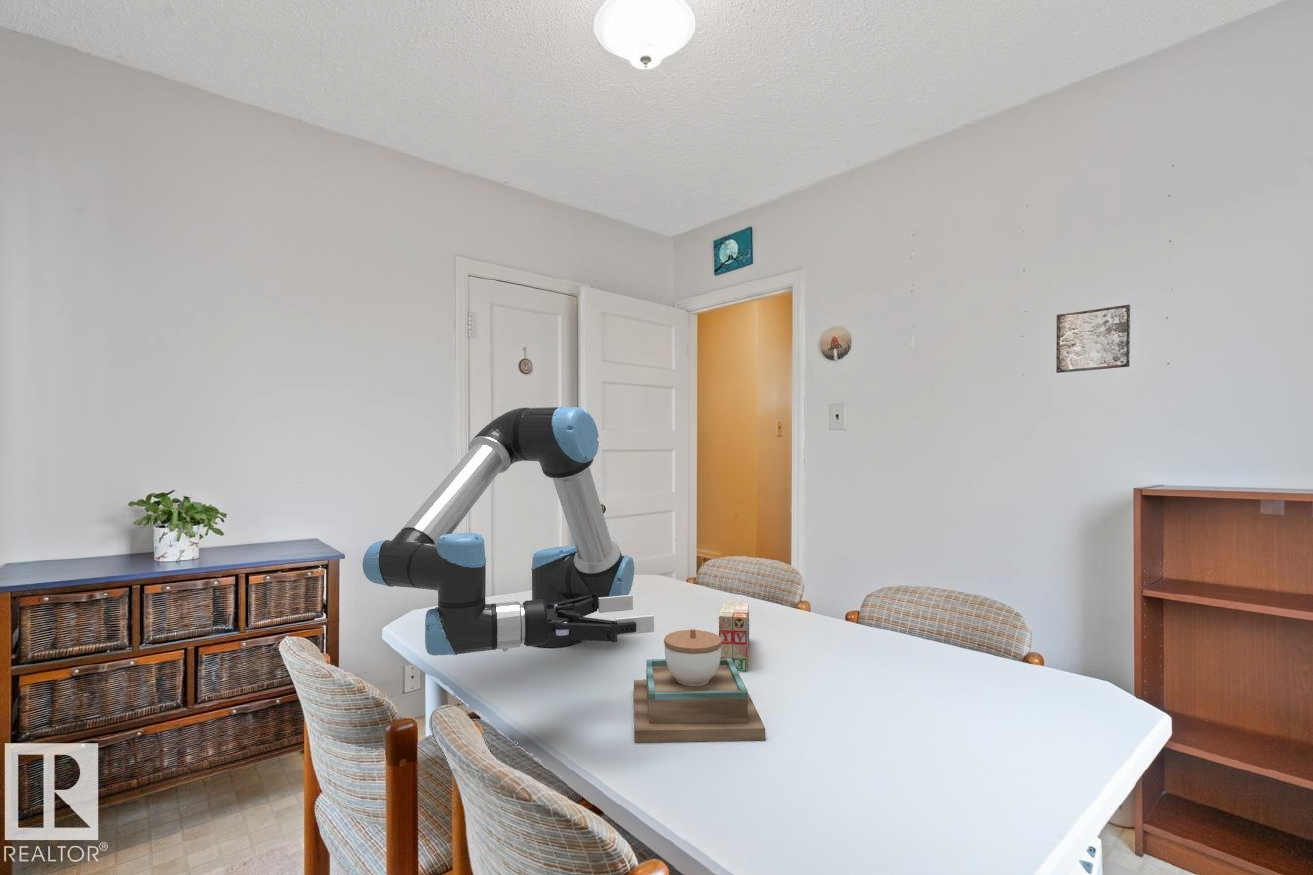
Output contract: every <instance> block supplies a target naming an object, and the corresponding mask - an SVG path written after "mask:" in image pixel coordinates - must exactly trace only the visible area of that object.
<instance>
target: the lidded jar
mask: <svg viewBox="0 0 1313 875" xmlns="http://www.w3.org/2000/svg"><path fill="white" fill-rule="evenodd" d="M663 643H664V659H666V664H667V667H668V669H669V671H670V673H671V674H672V675H673V677H674V678H676V680H677V682H678V683H680V684H682V685H685V686H702V685H705V684H707V683H708V682H709V680H710V679H711V678H712V677H713V676H714V675H715V674H716V672H717V670H718V667H719V664H720V659H721V646H722V639H721V638H720V636H719V634H716V633H714V632H711V631H707V630H701V629H700V630H699V629H698V630H697V629H695V628H689V629H684V630H677V631H676V630H675V631H674V632H669V633H668V634H666V635H665V636H664V638H663Z"/></svg>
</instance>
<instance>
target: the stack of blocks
mask: <svg viewBox="0 0 1313 875" xmlns="http://www.w3.org/2000/svg"><path fill="white" fill-rule="evenodd" d="M749 606H750V605H749V604H748V602H743V601H742V602H740V601H739V602H737V601H736V602H735V601H722V604H721V608H720V611H719V614H718V636H720V638H721V639H722V646H721V659H722V658H731V659H732V661H733V663H734V665H735V667H736V669H737V671H738V672H742V673H747V671H748V665H749V649H750V608H749Z"/></svg>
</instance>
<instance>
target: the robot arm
mask: <svg viewBox="0 0 1313 875" xmlns="http://www.w3.org/2000/svg"><path fill="white" fill-rule="evenodd" d="M597 427H598V426H597V425H596V422H595V420H594V418H593V417H592V415H591V414H590V412H588V411H587V410H585V409H584V408H581V407H577V406H576V407H573V406H569V405H564V406H563V405H561V406H557V407H556V406H554V407H551V406H550V407H519V408H515V409H511V410H509V411H507V412H505V413H503V414H501V415H499V416H498V417H496V418H494V419H493V420H492V421H491V422H489V423H488V424H487V425H485V426H484V427H483V428H482V429H481V430H480V431H478V433H477V434H475V436H474V437H473V438H472V439H471V440H470V442H469V444H468V450H467V451H468V452H467V453H466V454H465V455H464V456H463V457H462V458H461V459H460V460H459V462H458V463H457V464H456V466H454V467H453V469H452V470H451V471H450V472H449V473H448V474H447V475H446V477H445V478H444V480H442V481H441V483H440V484H439V485H438V486H437V487H436V488H435V489H434V491H433V492H432V493H431V494H430V495H429V497H428V498H427V499H426V500H425V501H424V503H423V504H422V505H421V506H419V508H418V509H417V511H416V512H415V513H414V514H413V515H412V516H411V518H410V519H409V520H408V521H407V522H406V524H405V525H404V526H403V527H402V528H401V529H400V531H399V532H397V534H395V536H394V538H392V539H391V540H390V539H385V540H378V541H375V542H374V543H372V544H371V545H370V546H368V548H367V549H366V551H365V553H364V556H363V559H362V571H363V574H364V576H365V578H367V580H368V581H370V582H371V583H373V584H377V585H381V586H386V587H391V588H393V587H400V588H408V589H409V588H410V589H411V588H412V589H421V590H430V591H432V590H433V591H437V598H438V599H437V600H438V601H437V606H436V607H434V608H431V609H428V610H427V611H426V613H425V618H424V620H425V624H424V628H425V629H424V630H425V631H424V638H425V639H424V645H425V651H426V653H427V654H429V655H430V656H450V655H451V656H458V655H464V654H472V653H478V652H485V651H495V650H496V651H497V650H501V651H503V652H504V653H505V652H507V651H509V649H513V648H520V647H522V644H523V645H524V646H525V647H539V648H561V647H568V646H572V645H575V644H578V643H580V642H581V641H588V642H589V641H592V642H593V641H595V642H611V643H616V642H618V637H620V636H631V635H638V634H647V633H654V632H655V616H654V615H653V614H648V615H646V614H645V615H638V616H628V617H627V616H625V617H618V618H617V617H616V618H615V620H610V619H601V618H593V617H586V616H588V615H592V614H594V613H596V612H598V614H603V613H604V614H605V613H616V612H624V611H633V610H634V607H633V606H634V600H633V598H634V595H633V594H630V593H631V591H632V586H633V582H634V578H635V562H634V559H633V557H631V556H629V555H626V554H625V555H623V554H622V550H621V548H620V546H619V544H618V543H617V542H615V541H613V540H612V539H611V535H610V533H609V530H608V527H607V526H608V525H607V522H606V518H605V515H604V512H603V508H602V505H601V502H600V499H599V498H600V497H599V494H598V491H597V488H596V487H597V486H596V484H595V482H594V477H593V474H592V471H591V466H592V464H593V463H594V459H595V457H596V456H597V453H598V450H599V445H600V444H599V441H598V438H599V432H598V428H597ZM524 461H526V462H538V463H539V465H540V468H541V470H542V473H543V475H544V476H545V477H547V478H548V479H552V481H553V484H554V487H555V490H556V494H557V495H558V496H557V497H558V499H559V502H560V506H561V508H562V511H563V514H564V519H565V520H566V523H567V526H568V529H569V534H570V535H571V538H572V542H573V545H562V546H554V547H548V548H544V549H541V550H537V551H536V552H535V553H534V554H533V555H532V559H531V560H532V561H531V562H532V563H531V569H530V570H531V599H530V600H524V601H523V602H522V604H521V603H520V601H518V600H516V601H505V602H496V603H487V602H486V593H487V592H486V591H487V590H486V583H487V582H486V577H487V576H486V574H487V573H486V570H487V568H486V564H487V556H486V549H485V547H486V546H485V540H484V537H483V536H482V535H481V534H478V533H477V532H454V531H455V530H456V529H457V528H458V526H459V525H460V524H461V522H462V521H463V520H464V518H465V517H466V516H467V514H469V512H470V510H471V509H472V508H473V507H474V506H475V504H476V503H477V501H479V499H480V498H481V497H482V495H483V493H484V492H485V491H486V490H487V489H488V488H489V486H490V484H491V483H492V482H494V480H495V478H496V477H497V476H498V475H499V474H503V473H505V472H507V471H508V469H510V467H511V466H512V464H515V463H518V462H524ZM453 532H454V533H453Z"/></svg>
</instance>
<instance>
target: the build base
mask: <svg viewBox="0 0 1313 875" xmlns="http://www.w3.org/2000/svg"><path fill="white" fill-rule="evenodd" d="M645 665H646V670H645V672H646V676H645V677H646V679H634V680H633V716H634V717H633V719H634V720H633V722H634V723H633V724H634V725H633V726H634V727H633V728H634V729H633V730H634V743H635V744H636V743H639V744H641V743H643V744H644V743H676V742H678V743H684V742H685V743H690V742H692V743H693V742H696V743H697V742H736V741H737V742H740V741H743V742H744V741H766V727H765V725H764V722H763V721H762V718H761V717H760V715H759V711H758V710H757V708H756V705H755V704H754V702H753V699H752V697H751V695H750V694H749V691H748V690H747V687H746V685H745V683H744V681H743V678H742V677H741V675H740V673H739V671H737V669H736V667H735V665H734V663H733V661H732V659H731V658H722V659H720V664H719V667H718V670H717V672H716V674H715V675H714V676H713V677H712V678H711V679H710V680H709V682H708V683H707V684H705V685H702V686H685V685H682V684H680V683H678V682H677V680H676V678H674V677H673V675H672V674H671V673H670V671H669V669H668V667H667V664H666V659H665V658H663V659H662V658H659V659H658V658H656V659H646V663H645Z"/></svg>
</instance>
